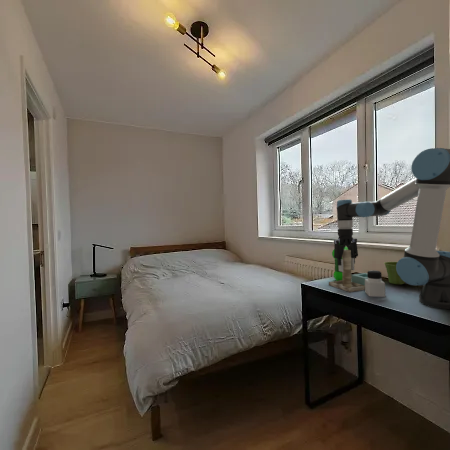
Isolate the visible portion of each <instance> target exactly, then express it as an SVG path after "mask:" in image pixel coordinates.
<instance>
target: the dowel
mask: <svg viewBox="0 0 450 450" xmlns="http://www.w3.org/2000/svg"><path fill="white" fill-rule="evenodd" d="M342 260H343V272H342V274H343V286H345V287H348V288H351V287H352V283H351V282H352V270H351V250H344V251H343V255H342Z"/></svg>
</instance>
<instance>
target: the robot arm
mask: <svg viewBox="0 0 450 450" xmlns="http://www.w3.org/2000/svg"><path fill="white" fill-rule="evenodd" d="M410 170H411V174H413V177H415V178H414V179H412V180H410V181H408V182H407V183H405V184H403V185H401V186H400V187H397V188H396V189H395V190H393V191H391V192H390V193H388V194H386V195H384V196H382V197H381V198H379V199H378V200H376V201H359V202H353V201H352V199H347V198H346V199H338V200H337V202H336V215H337V216H336V218H337V236H338V238H337V239H334V240H333V243H334V245H333V247H334V248H333V250H334V258H336V259H337V262H338V265H339V271H341V272H343V260H342V255H343V251H344V248H345V246H346V247H347V248H348V250H351V271H355V264H356V259H357V257H359V252H358V244H357V243H358V239H357V238H355V237H353V235H354V229H353V228H354V224H353V218H370V217H383V216H387V215H389V214H390V213H391V211H392V210H394V209H396V208H398V207H399V206H402V205H404V204H405V203H407V202H409V201H411V200H414V199H416V198H417V200H416V205H415V212H414V218H413V222H412V223H413V224H412V225H413V226H412V229H411V237H410V238H411V239H410V243H409V246H408V247H407V248H405V249H404V253H403V257H401V258H400V259H399V260H398V261H396V262H397V264H396V270H397V273H398V275H399V276H400V277H401V279H402V280H403V281H404V282H405V284H408V285H410V286H422V288H421V289H420V293H419V296H418V302H419V303H420V304H423V305H424V306H427V307H432V308H437V309H443V310H450V251H445V250H436V249H437V244H438V240H439V233H440V228H441V221H442V216H443V210H444V205H445V201H446V196H447V195H446V194H447V190H448V189H450V148H444V147H435V148H434V147H433V148H428V149H424V150H422V151H421V152H419V153H418V154H417V155H416V156H415V157H414V159H413V160H412V162H411V165H410ZM339 243H340V244H339ZM334 258H333V259H334Z"/></svg>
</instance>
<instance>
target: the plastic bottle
mask: <svg viewBox="0 0 450 450" xmlns="http://www.w3.org/2000/svg"><path fill="white" fill-rule="evenodd" d="M339 244H340V243H339ZM344 250H348V248H347V246H345V248H344ZM331 255H332V258H333V259H334V273H333V278H334V279H335V281H339V280H343V274H342V272H341V271H339V265H338V262H337V259H336V258H334V249H332V252H331Z"/></svg>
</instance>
